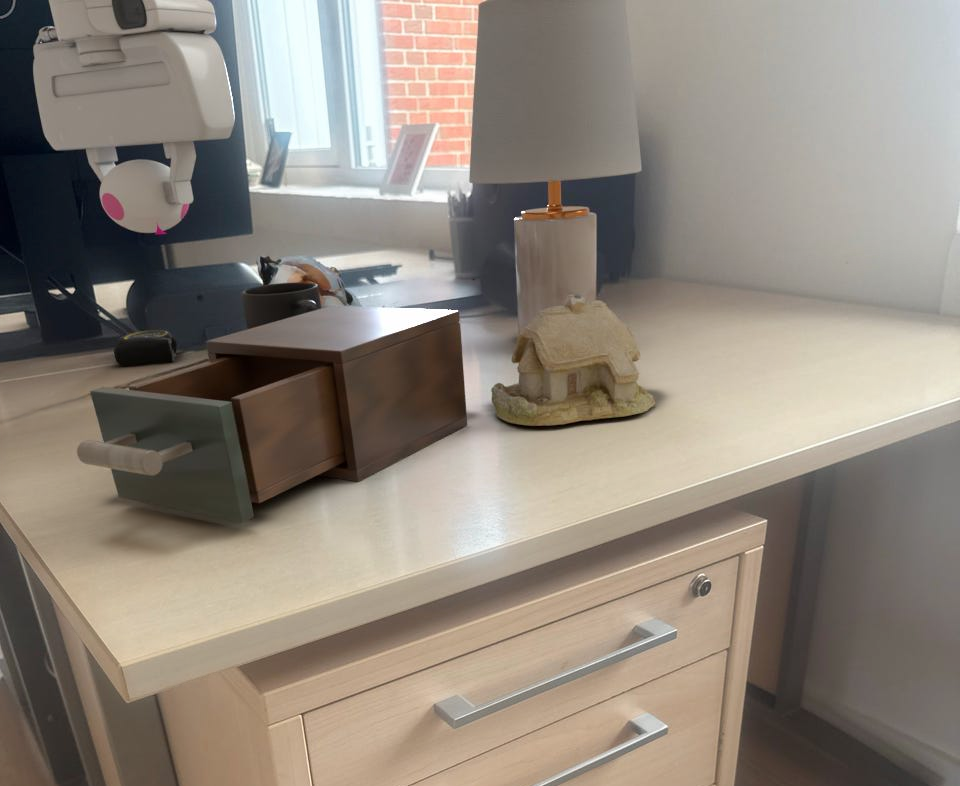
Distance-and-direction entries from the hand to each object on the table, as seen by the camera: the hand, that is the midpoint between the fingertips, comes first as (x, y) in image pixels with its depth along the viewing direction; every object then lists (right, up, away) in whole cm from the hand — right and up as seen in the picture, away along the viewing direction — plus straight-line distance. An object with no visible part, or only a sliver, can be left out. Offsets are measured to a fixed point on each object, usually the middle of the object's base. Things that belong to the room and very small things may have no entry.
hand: (151, 204), depth 80 cm
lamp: (+38, -3, +29) cm, 48 cm away
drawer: (+10, -27, -12) cm, 31 cm away
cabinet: (+18, -21, -1) cm, 28 cm away
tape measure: (-11, -5, +32) cm, 34 cm away
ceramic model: (+38, -18, +3) cm, 42 cm away
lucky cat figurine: (+9, -1, +35) cm, 37 cm away
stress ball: (0, -2, +1) cm, 3 cm away
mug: (+9, -10, +20) cm, 24 cm away
